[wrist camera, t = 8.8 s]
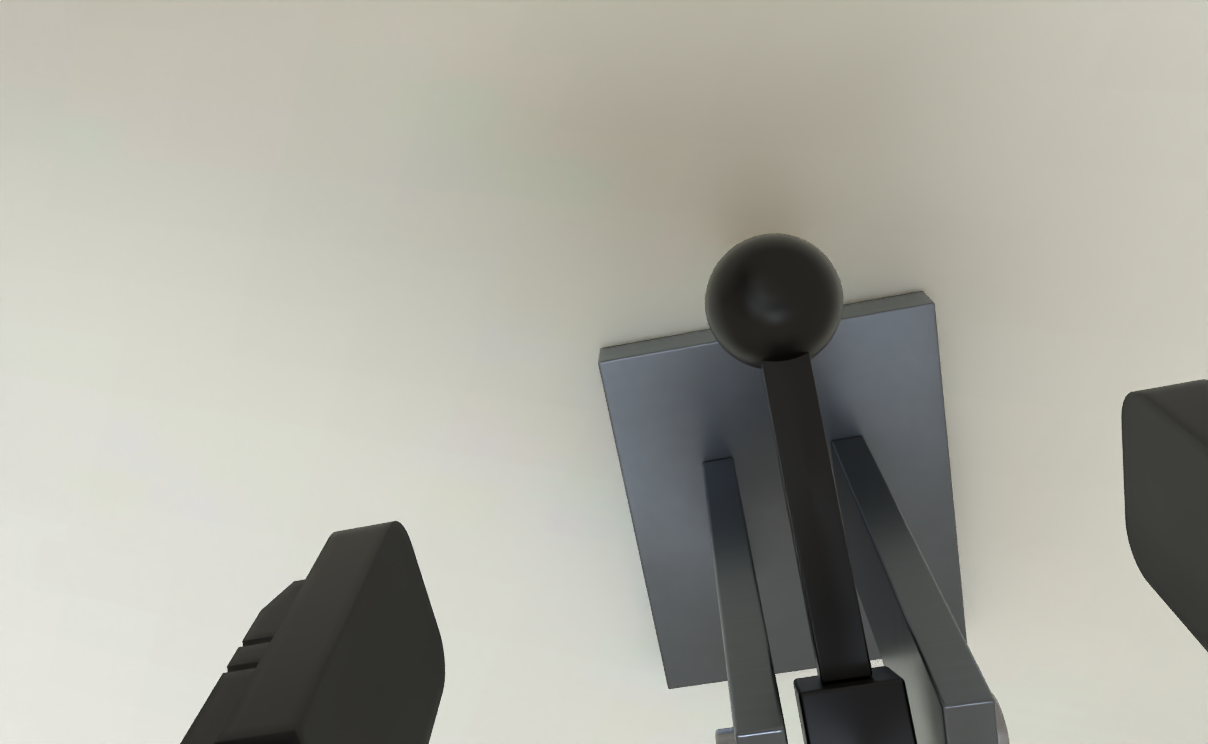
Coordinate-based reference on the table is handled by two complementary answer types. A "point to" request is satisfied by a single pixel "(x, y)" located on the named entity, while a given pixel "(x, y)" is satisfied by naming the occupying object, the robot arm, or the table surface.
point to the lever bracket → (761, 524)
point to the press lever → (808, 476)
